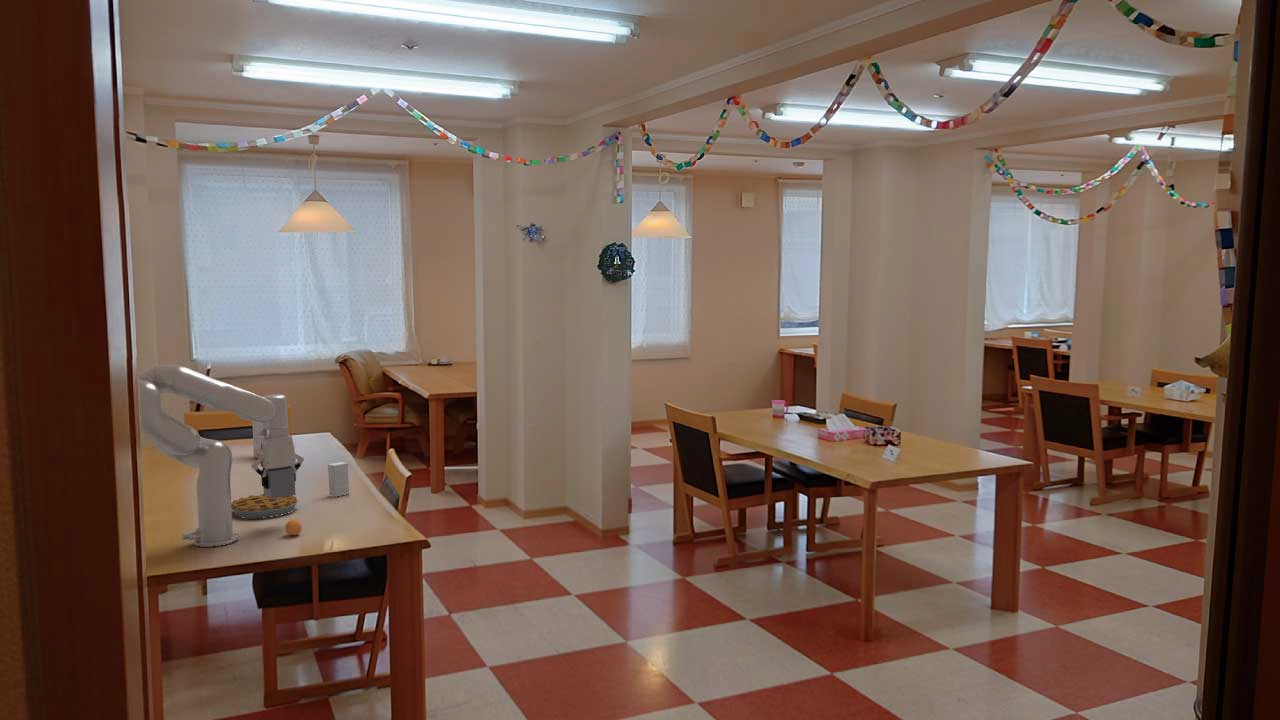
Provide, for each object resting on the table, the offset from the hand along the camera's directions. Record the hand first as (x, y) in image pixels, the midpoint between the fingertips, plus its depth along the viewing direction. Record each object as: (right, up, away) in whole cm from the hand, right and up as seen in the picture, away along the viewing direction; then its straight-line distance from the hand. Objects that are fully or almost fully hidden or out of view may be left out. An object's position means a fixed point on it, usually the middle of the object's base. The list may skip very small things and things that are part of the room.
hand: (279, 485), depth 308 cm
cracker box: (-46, -3, +110) cm, 120 cm away
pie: (-13, -12, +20) cm, 26 cm away
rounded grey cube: (0, -3, 0) cm, 3 cm away
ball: (+8, -12, -10) cm, 17 cm away
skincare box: (+6, -9, +43) cm, 45 cm away
